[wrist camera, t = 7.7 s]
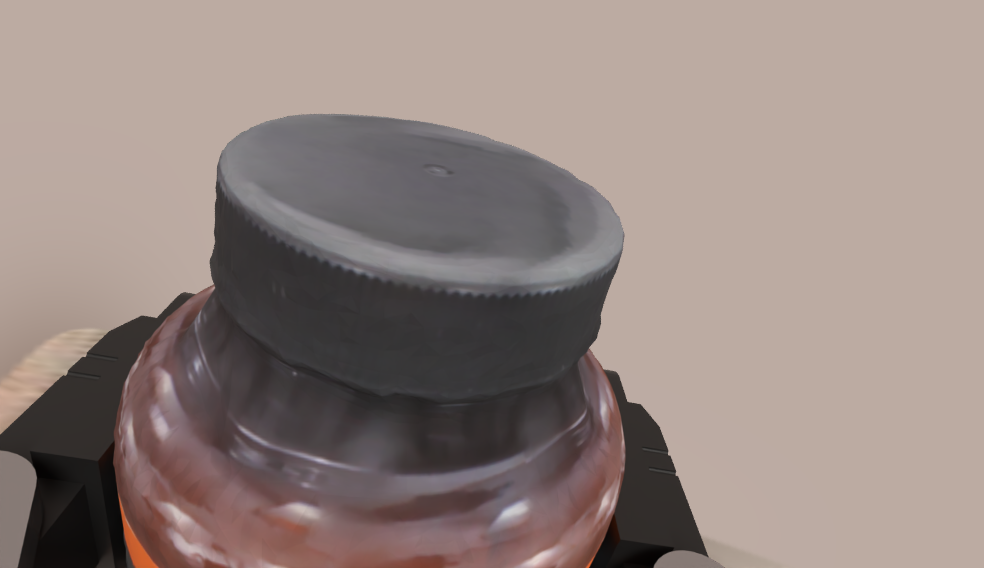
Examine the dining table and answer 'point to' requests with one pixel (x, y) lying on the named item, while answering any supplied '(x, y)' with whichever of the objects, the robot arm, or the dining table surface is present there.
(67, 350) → the dining table surface
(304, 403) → the supplement bottle
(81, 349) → the dining table surface
